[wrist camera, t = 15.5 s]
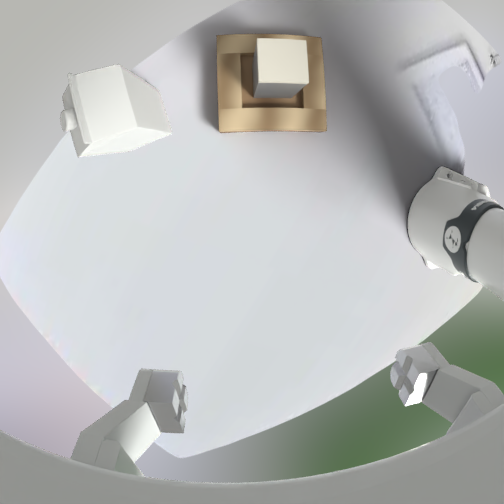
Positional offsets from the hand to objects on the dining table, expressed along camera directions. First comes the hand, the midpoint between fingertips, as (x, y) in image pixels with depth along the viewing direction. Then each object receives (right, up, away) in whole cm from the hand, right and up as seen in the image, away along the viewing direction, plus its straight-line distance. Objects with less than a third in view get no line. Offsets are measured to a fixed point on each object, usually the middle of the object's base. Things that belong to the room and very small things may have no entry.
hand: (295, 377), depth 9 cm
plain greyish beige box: (+1, +27, +23) cm, 36 cm away
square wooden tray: (+1, +28, +25) cm, 37 cm away
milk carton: (-17, +23, +26) cm, 39 cm away
